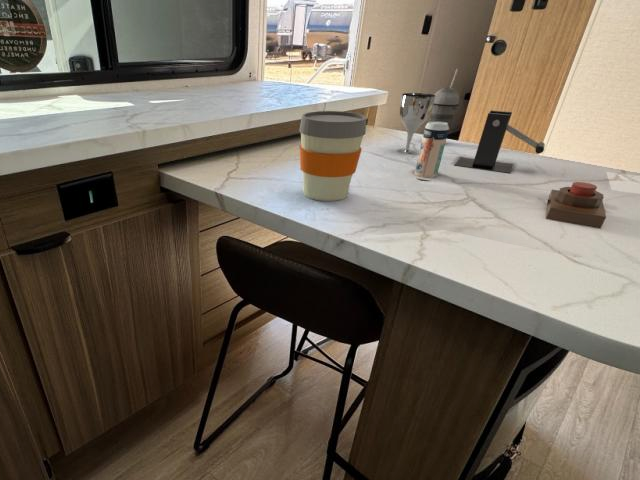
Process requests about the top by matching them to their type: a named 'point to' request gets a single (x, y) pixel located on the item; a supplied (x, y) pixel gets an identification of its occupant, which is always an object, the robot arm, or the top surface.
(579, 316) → the top surface
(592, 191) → the button
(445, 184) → the top surface
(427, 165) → the supplement bottle
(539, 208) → the top surface
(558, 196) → the button box
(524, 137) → the lever
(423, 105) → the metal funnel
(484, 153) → the bracket
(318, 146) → the reusable coffee cup
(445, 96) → the beverage cup
